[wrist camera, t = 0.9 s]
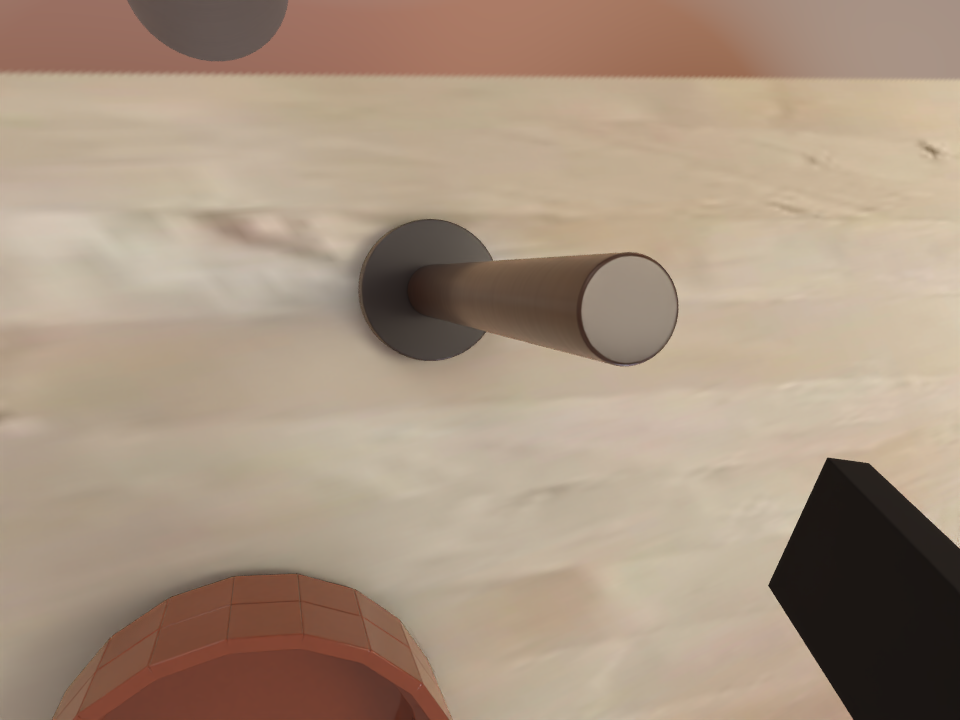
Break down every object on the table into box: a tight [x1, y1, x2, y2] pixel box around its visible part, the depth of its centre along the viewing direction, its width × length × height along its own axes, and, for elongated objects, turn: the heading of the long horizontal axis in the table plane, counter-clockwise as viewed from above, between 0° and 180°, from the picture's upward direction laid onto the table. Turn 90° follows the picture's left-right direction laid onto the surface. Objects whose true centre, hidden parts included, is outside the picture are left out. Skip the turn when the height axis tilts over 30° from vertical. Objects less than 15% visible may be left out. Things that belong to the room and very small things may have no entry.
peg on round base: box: [358, 219, 678, 366], centre depth 22 cm, size 6×6×18 cm
